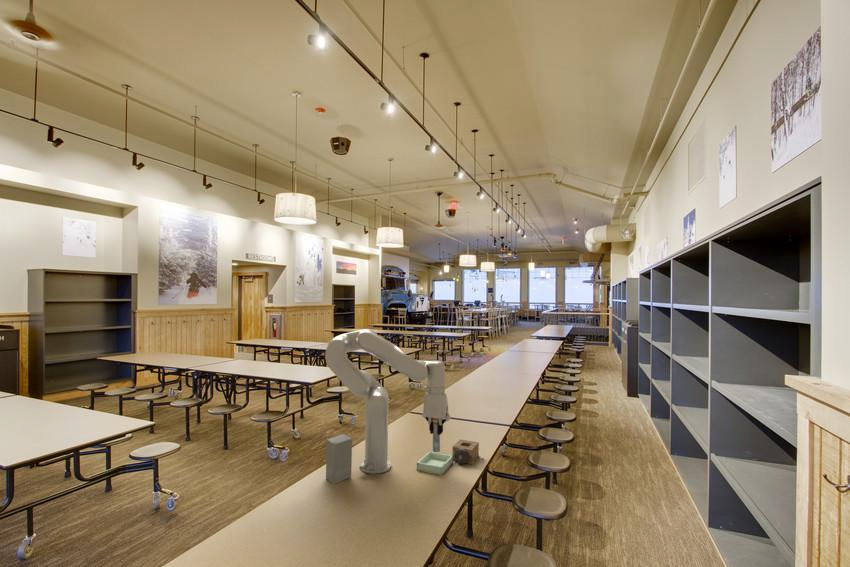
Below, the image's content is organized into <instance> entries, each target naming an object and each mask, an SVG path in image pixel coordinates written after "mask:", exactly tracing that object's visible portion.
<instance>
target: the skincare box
mask: <svg viewBox="0 0 850 567" xmlns="http://www.w3.org/2000/svg"><path fill="white" fill-rule="evenodd" d="M325 450H326V452H325V453H326V457H325V458H326V459H325V460H326V461H325V479H326V480H327V481H329V482H330V483H332V484H334V485H335V484H338V483H340V482H343V481H344V480H346V479H350V478H351V477H352V462H353V460H352V459H353V458H352V456H353V438H351V437H350V436H348V435H347V434H344V433H342V434H340V435H337V436H334V437H331V438H327V439H326V449H325Z"/></svg>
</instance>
